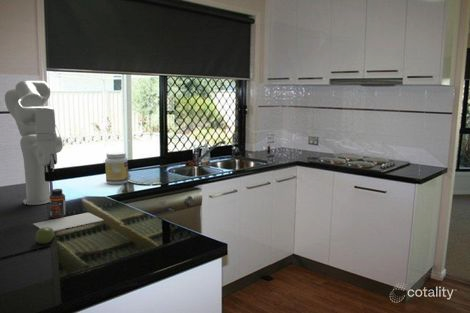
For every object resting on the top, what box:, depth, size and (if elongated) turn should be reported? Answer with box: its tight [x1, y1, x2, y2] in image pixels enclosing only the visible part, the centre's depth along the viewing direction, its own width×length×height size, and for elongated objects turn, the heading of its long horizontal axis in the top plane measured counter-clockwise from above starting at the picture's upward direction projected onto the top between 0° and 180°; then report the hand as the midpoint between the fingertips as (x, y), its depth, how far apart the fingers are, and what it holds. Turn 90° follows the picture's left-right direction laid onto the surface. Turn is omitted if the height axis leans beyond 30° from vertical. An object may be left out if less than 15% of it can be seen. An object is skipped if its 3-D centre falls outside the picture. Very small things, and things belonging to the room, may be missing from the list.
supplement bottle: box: [49, 188, 67, 219], centre depth 169 cm, size 6×6×11 cm
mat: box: [33, 212, 105, 233], centre depth 162 cm, size 14×22×1 cm, turn 133°
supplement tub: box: [104, 151, 129, 185], centre depth 233 cm, size 12×12×17 cm
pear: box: [34, 227, 56, 245], centre depth 142 cm, size 6×5×10 cm
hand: (49, 180), depth 173 cm, fingers closed
